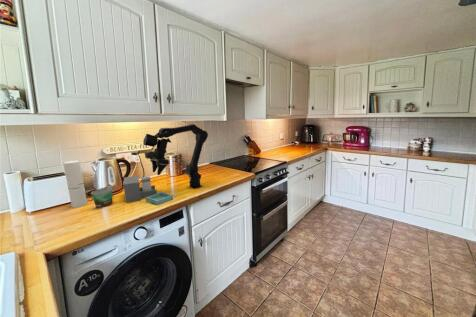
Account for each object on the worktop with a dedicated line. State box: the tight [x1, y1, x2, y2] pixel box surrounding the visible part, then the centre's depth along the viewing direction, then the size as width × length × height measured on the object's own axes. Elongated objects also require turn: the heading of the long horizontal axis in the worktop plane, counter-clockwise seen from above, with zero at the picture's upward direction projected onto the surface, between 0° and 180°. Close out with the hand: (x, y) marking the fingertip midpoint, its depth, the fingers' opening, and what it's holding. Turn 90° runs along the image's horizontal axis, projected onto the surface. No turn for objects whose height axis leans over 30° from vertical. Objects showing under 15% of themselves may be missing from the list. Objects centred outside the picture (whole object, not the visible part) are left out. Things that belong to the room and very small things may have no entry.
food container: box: [90, 184, 114, 209], centre depth 121 cm, size 12×6×10 cm, turn 168°
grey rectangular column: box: [62, 160, 88, 208], centre depth 120 cm, size 7×7×25 cm
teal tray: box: [145, 191, 174, 206], centre depth 126 cm, size 11×11×2 cm
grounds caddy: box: [140, 176, 152, 191], centre depth 135 cm, size 5×5×11 cm
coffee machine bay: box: [123, 175, 158, 204], centre depth 133 cm, size 17×16×11 cm
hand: (155, 173), depth 131 cm, fingers open, 9 cm apart
